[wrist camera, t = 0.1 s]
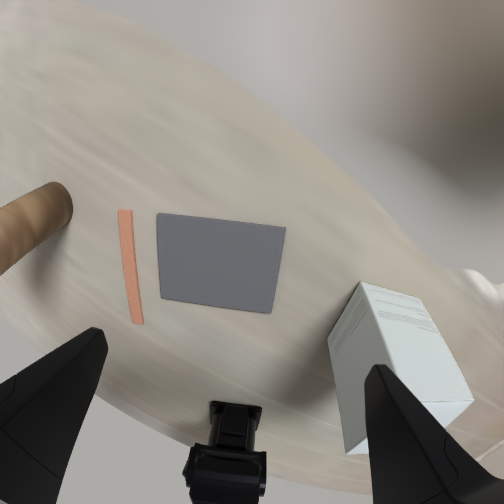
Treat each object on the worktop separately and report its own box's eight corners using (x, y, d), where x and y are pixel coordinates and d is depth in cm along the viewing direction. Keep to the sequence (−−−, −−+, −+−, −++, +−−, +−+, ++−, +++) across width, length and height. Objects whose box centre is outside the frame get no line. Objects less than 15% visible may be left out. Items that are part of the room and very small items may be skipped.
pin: (75, 227, 23) (-3, 293, 14) (44, 223, 23) (-31, 281, 14) (70, 182, 21) (-21, 233, 12) (38, 181, 21) (-47, 228, 12)
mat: (271, 310, 26) (271, 313, 25) (162, 295, 26) (161, 297, 26) (285, 227, 22) (285, 229, 22) (158, 212, 22) (156, 214, 22)
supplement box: (324, 339, 27) (340, 456, 16) (360, 278, 24) (407, 400, 12) (383, 351, 28) (414, 453, 16) (421, 297, 24) (478, 400, 13)
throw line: (143, 322, 28) (142, 324, 27) (133, 320, 28) (132, 322, 28) (132, 210, 22) (130, 211, 22) (119, 209, 22) (117, 210, 22)
